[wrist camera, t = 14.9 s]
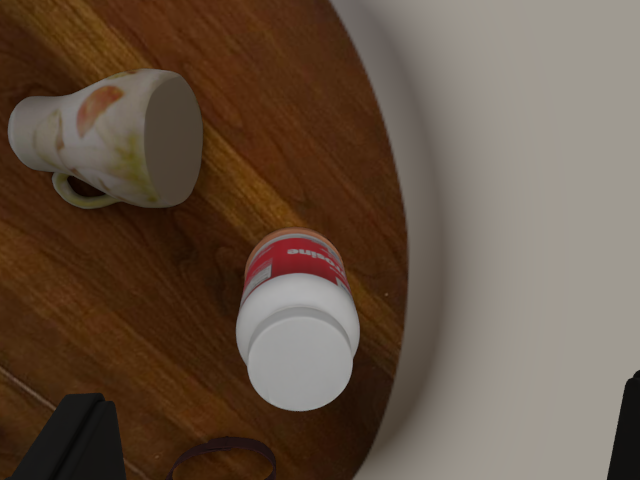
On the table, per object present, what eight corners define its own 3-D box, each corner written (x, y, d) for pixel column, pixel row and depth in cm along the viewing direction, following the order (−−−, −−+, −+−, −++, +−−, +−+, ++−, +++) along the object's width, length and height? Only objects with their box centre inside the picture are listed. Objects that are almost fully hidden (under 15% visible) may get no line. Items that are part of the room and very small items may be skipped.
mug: (9, 70, 30) (19, 21, 22) (179, 101, 35) (240, 72, 27) (2, 202, 30) (8, 205, 22) (171, 214, 36) (229, 221, 27)
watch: (179, 496, 39) (168, 537, 36) (161, 443, 38) (149, 480, 34) (282, 476, 39) (282, 515, 36) (269, 422, 38) (267, 457, 34)
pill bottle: (363, 272, 34) (399, 360, 24) (299, 339, 35) (306, 450, 25) (290, 210, 33) (293, 273, 22) (226, 281, 34) (200, 373, 23)
